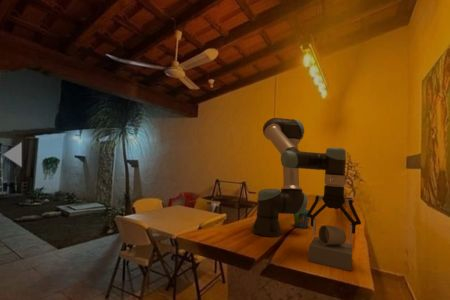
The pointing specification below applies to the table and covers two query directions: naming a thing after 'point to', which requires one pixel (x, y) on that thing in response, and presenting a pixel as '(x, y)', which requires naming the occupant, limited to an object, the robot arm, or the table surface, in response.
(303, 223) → the snack cup
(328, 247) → the slate block
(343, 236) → the ceramic mug
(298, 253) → the table surface
